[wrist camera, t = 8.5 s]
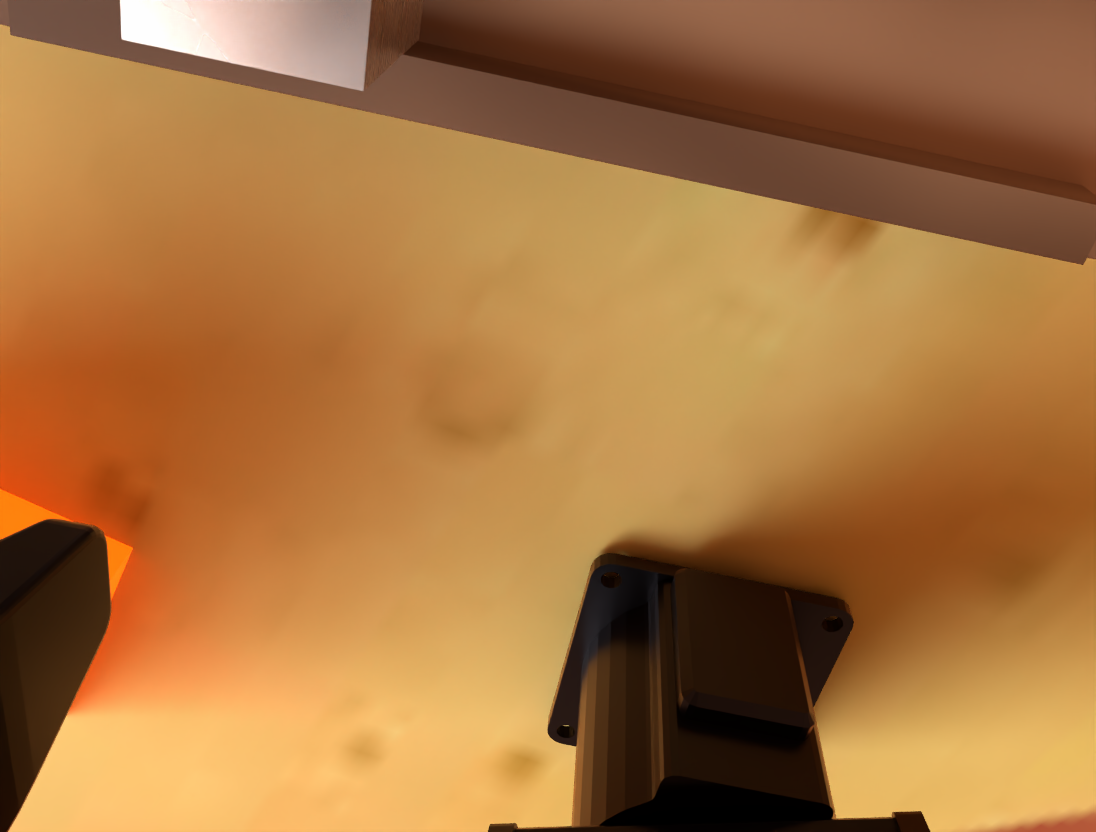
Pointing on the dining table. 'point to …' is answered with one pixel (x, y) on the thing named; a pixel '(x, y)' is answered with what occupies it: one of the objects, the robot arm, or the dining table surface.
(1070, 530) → the dining table surface
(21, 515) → the orange juice
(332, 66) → the jaw
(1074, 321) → the dining table surface
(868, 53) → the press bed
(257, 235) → the dining table surface
